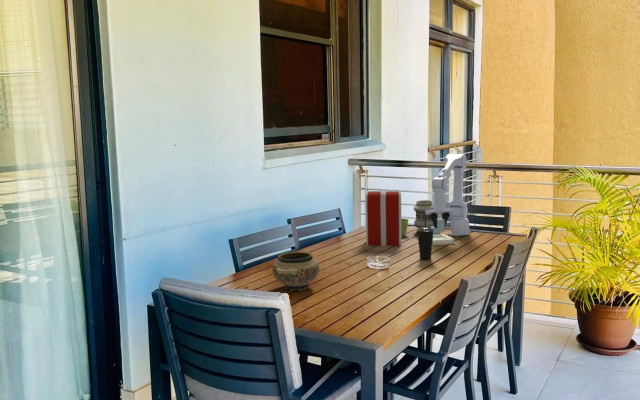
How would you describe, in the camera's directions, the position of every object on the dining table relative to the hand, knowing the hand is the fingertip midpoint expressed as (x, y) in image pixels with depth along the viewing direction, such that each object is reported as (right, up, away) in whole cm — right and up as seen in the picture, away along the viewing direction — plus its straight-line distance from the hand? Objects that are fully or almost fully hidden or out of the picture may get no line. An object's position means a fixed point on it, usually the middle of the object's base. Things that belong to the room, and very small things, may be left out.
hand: (439, 227), depth 302 cm
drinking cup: (-13, -13, -33) cm, 38 cm away
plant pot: (-17, -6, +24) cm, 30 cm away
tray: (0, -8, +4) cm, 9 cm away
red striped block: (-27, -8, +7) cm, 29 cm away
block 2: (+1, -6, +14) cm, 16 cm away
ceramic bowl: (-70, -20, -73) cm, 103 cm away
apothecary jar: (-3, -5, +29) cm, 29 cm away
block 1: (0, -2, +1) cm, 2 cm away
